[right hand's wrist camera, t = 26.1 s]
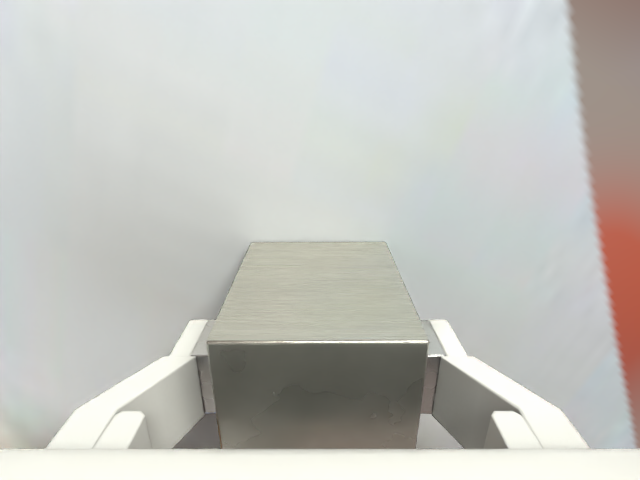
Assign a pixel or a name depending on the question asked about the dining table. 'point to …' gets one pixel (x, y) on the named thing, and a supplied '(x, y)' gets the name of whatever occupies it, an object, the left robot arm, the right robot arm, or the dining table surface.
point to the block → (318, 350)
